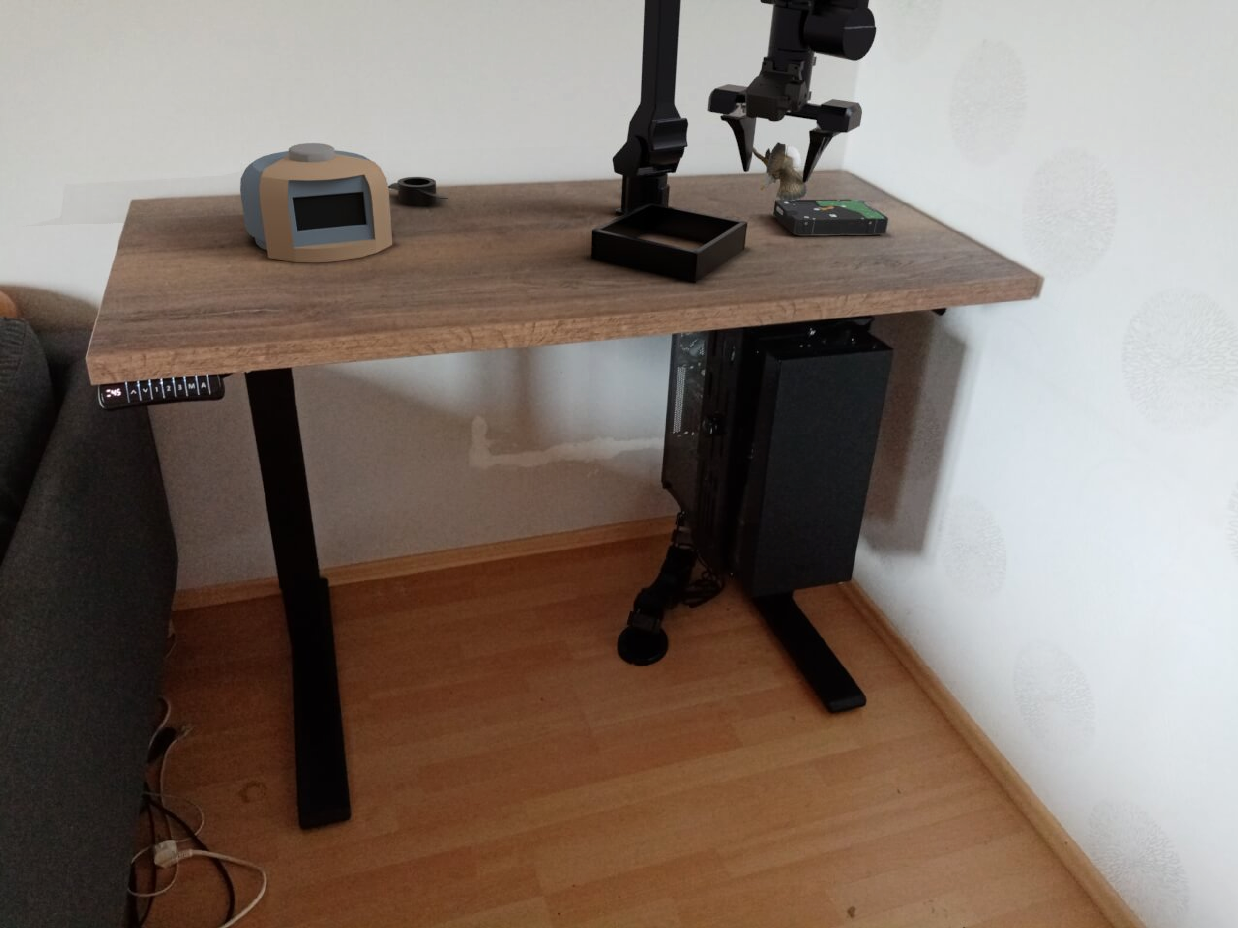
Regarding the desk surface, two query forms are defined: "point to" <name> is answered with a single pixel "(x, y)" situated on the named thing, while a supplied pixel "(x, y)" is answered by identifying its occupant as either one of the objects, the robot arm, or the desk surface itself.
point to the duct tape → (416, 191)
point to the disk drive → (830, 217)
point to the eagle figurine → (783, 171)
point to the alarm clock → (316, 204)
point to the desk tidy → (627, 250)
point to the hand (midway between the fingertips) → (774, 176)
